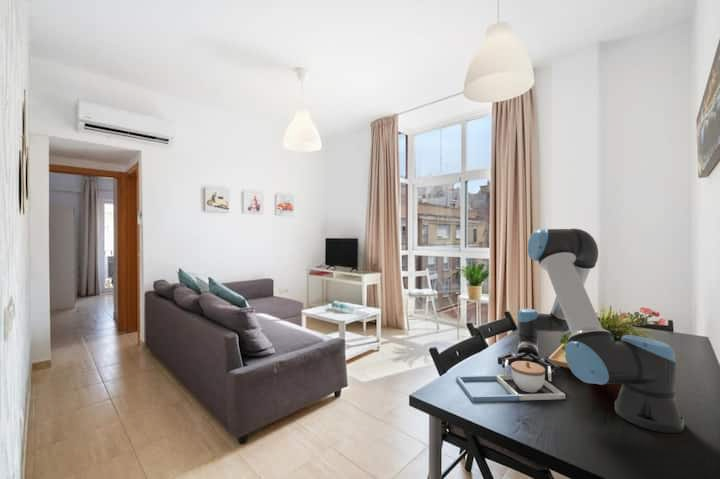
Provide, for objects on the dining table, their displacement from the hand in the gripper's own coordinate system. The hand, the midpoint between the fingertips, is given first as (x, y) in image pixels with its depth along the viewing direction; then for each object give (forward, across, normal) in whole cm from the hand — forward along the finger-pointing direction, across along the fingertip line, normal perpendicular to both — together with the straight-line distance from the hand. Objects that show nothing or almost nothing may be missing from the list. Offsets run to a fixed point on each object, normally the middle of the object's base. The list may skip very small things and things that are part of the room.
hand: (527, 373), depth 112 cm
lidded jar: (-2, 0, -6) cm, 7 cm away
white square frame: (-2, 0, -6) cm, 6 cm away
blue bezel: (+5, +13, -6) cm, 15 cm away
